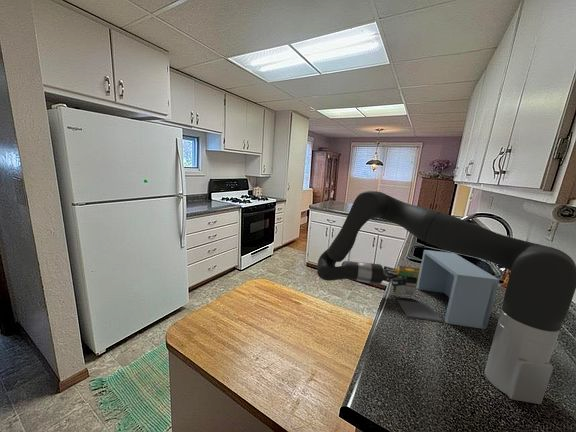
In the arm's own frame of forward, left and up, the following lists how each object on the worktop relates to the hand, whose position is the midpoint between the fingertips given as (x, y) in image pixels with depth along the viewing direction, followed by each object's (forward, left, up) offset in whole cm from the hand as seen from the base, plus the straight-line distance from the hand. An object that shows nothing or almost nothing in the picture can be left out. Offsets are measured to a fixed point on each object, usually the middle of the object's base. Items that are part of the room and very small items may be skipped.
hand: (414, 278), depth 91 cm
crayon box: (0, +3, -7) cm, 7 cm away
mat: (-9, 0, -8) cm, 12 cm away
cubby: (-2, -12, -8) cm, 15 cm away
